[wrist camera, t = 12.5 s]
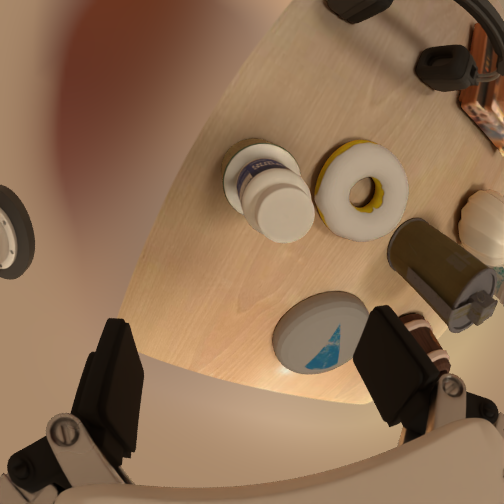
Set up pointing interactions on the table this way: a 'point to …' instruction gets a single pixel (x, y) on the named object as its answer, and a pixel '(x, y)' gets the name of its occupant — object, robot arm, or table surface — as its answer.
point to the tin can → (243, 155)
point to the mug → (427, 341)
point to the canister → (443, 274)
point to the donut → (346, 175)
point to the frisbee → (320, 332)
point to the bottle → (499, 283)
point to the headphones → (442, 57)
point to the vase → (484, 227)
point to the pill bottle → (275, 200)
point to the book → (485, 91)
